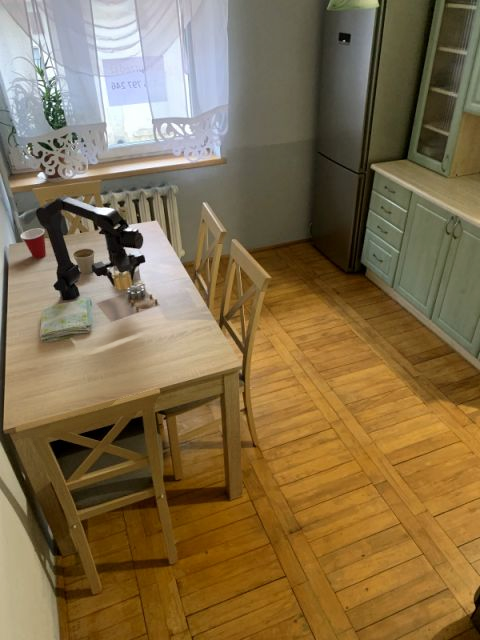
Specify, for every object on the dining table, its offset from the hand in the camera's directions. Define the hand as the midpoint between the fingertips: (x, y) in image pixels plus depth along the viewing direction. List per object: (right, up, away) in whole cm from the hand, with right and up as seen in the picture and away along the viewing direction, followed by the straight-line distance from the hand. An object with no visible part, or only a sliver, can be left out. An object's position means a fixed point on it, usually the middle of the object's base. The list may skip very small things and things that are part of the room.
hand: (122, 283), depth 175 cm
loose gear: (0, -1, +1) cm, 1 cm away
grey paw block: (-4, +3, +25) cm, 25 cm away
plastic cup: (-52, +17, +46) cm, 71 cm away
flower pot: (-24, +8, +34) cm, 42 cm away
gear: (+2, -4, +13) cm, 13 cm away
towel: (-20, -16, -1) cm, 26 cm away
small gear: (+2, -1, +18) cm, 18 cm away
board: (0, -8, +8) cm, 12 cm away
